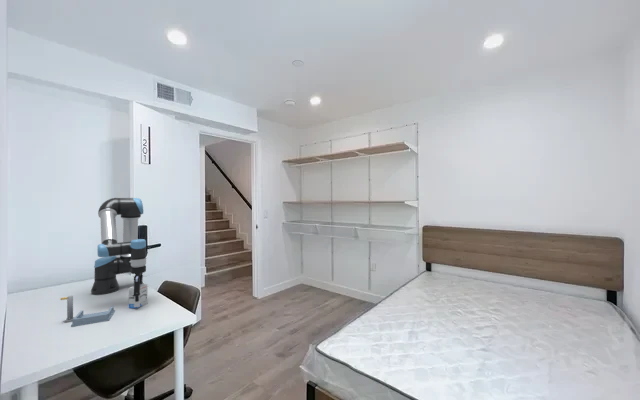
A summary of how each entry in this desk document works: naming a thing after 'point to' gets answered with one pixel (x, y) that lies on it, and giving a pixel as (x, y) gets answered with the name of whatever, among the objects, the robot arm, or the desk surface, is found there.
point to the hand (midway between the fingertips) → (138, 303)
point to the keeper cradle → (86, 318)
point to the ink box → (142, 295)
